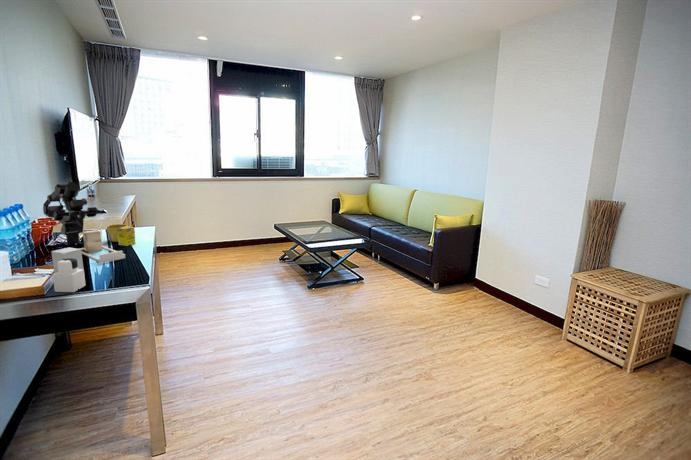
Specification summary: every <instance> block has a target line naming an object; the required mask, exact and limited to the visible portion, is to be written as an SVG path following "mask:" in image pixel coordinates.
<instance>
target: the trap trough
mask: <svg viewBox="0 0 691 460" xmlns="http://www.w3.org/2000/svg"><path fill="white" fill-rule="evenodd" d="M78 249H81V252H82V255H84V256H85V257H88V258H91V259H93V260H95V263H97V264H103V263H107V262H108V263H109V262H114V261H119V260H124V259H126V254H125V253H124V251H123V250H115V249H113V248H109V247H107V246H105V245H103V244H102V249H104V250H107V251H109V252H106V253H101V254H99V255H98V256H99V257H96V256H95V255H92V254H90V253H89V252H87V251H85V248H84V247H81V248H78Z"/></svg>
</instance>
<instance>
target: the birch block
mask: <svg viewBox="0 0 691 460" xmlns="http://www.w3.org/2000/svg"><path fill="white" fill-rule="evenodd" d="M101 234H102V233H101V231H100V230H97V229H93V230H89V231H88V230H87V231H83V233H82V237H83V248H85V250H84V252H86V253H88V254H90V253H94V252H100V251H103V248H102V245H103V243H102V235H101Z"/></svg>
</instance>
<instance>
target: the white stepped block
mask: <svg viewBox="0 0 691 460" xmlns="http://www.w3.org/2000/svg"><path fill="white" fill-rule="evenodd" d="M57 264H58V271H59V272H57V273H55V274H54V273H53V274H52V280H53V289H54V292H55V293H75V292H77V291H79V290H80V289H82V288H84V287H85V286H87V285H86V284H87V283H86V278H85V276H86V275H85V270H84V268H83V269H78V264H77V260H76V259H73V258H67V259H62V260H60V261H58V262H57ZM78 289H79V290H78Z"/></svg>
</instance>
